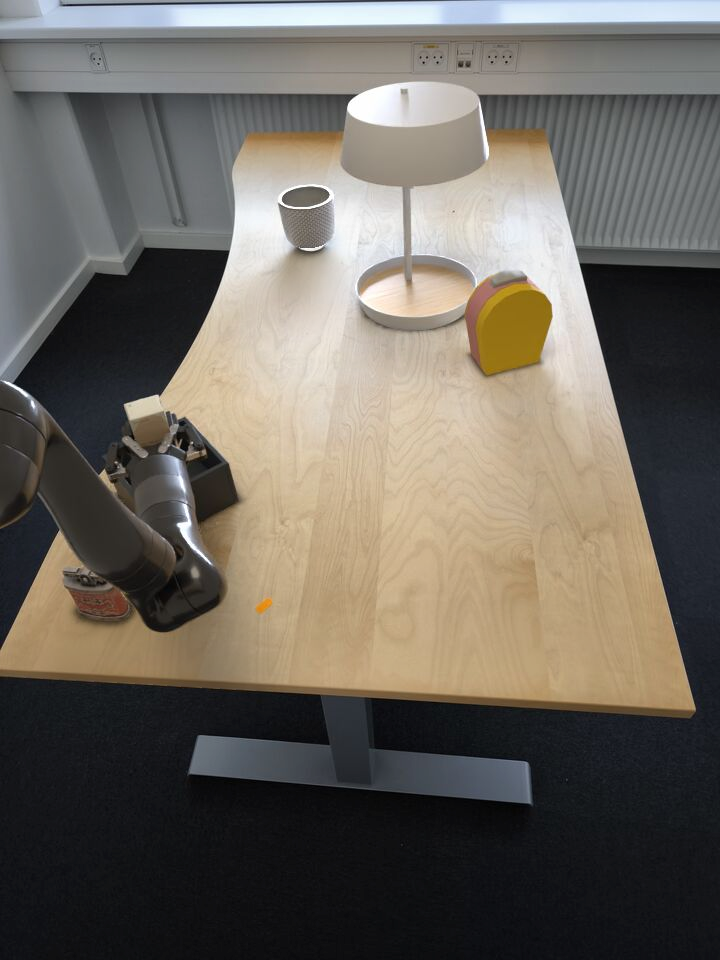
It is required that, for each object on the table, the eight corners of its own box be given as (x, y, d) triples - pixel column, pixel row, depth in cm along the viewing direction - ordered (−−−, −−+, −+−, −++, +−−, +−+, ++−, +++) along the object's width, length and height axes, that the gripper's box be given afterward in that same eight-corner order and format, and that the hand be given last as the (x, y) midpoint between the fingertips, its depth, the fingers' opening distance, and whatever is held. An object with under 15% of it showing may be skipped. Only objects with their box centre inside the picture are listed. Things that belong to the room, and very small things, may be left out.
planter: (273, 249, 188) (265, 200, 179) (310, 228, 195) (304, 180, 186) (312, 264, 181) (306, 214, 172) (349, 241, 188) (345, 192, 179)
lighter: (134, 604, 111) (114, 562, 104) (125, 623, 108) (104, 581, 101) (85, 598, 112) (62, 557, 105) (75, 617, 110) (51, 576, 103)
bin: (156, 546, 119) (140, 508, 112) (117, 493, 128) (101, 455, 122) (238, 500, 125) (228, 462, 118) (196, 453, 134) (185, 416, 128)
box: (148, 478, 108) (126, 421, 100) (142, 461, 111) (121, 403, 103) (183, 467, 109) (164, 409, 101) (176, 450, 112) (157, 392, 104)
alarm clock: (527, 338, 153) (536, 257, 140) (546, 360, 147) (557, 277, 134) (461, 355, 150) (464, 274, 137) (478, 377, 144) (483, 295, 132)
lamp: (369, 347, 154) (355, 136, 124) (340, 280, 175) (321, 85, 145) (500, 321, 158) (516, 110, 128) (456, 259, 178) (461, 64, 148)
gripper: (211, 462, 94) (191, 388, 106) (98, 492, 92) (91, 412, 103) (223, 502, 99) (202, 427, 111) (116, 531, 97) (107, 452, 109)
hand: (149, 421), depth 107 cm, fingers closed on box, 5 cm apart
